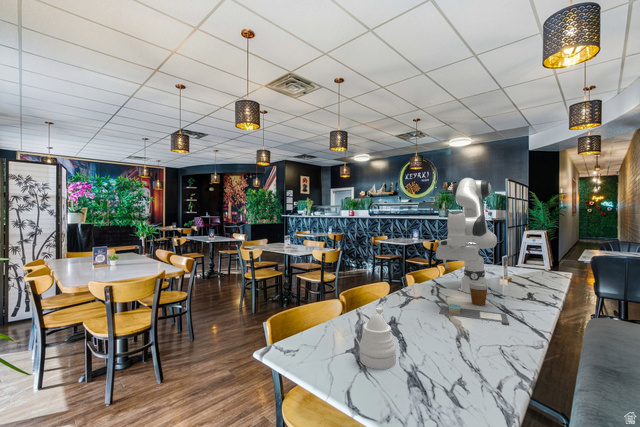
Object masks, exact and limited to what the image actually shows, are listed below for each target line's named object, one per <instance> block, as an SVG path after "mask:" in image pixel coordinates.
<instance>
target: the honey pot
mask: <svg viewBox="0 0 640 427" xmlns="http://www.w3.org/2000/svg"><path fill="white" fill-rule="evenodd" d="M375 310H376V313H373V314H372V315H371V316H370V318H369V319H368V321H367V322H366V323H364V324H363V325H362V328H363V330H364V332H363V333H362V337H361V340H360V343H359V361H360V362H361V364H362V365H364V366H366V367H367V368H371V369H376V370H385V369H391V368H393V367H394V366H395V365H397V364H396V363H397V352H396V351H397V347H396V346H397V345H396V344H395V341H394V337H393V334H392V333H391V331H392V326H390V325H389V324H388V323H387V322H386V320H385V318H384V317H383V316H382V313H383V312H384V311H383V310H384V307H380V306H379V307H376V308H375Z"/></svg>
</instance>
